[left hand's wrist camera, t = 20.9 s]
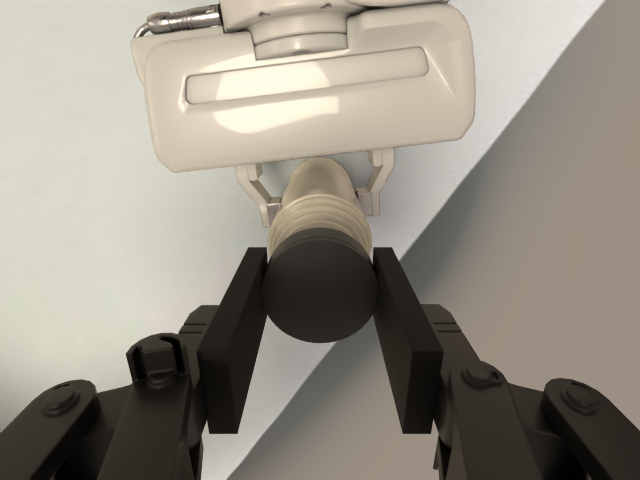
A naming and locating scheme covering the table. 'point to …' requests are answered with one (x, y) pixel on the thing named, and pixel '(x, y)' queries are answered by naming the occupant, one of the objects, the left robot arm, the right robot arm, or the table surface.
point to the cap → (320, 285)
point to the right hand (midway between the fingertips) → (322, 219)
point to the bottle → (320, 204)
